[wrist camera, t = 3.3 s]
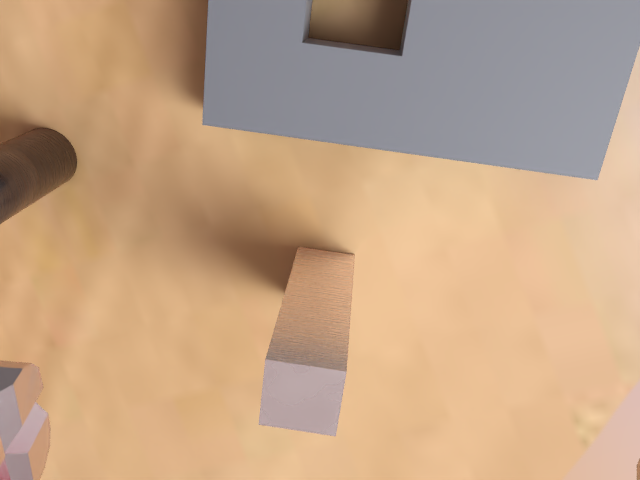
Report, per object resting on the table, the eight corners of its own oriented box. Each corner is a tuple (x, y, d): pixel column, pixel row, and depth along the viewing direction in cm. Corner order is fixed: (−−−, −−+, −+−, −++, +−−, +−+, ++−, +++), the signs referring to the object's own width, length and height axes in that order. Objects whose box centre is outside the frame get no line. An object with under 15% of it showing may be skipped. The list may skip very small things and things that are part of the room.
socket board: (216, 113, 34) (202, 124, 31) (233, -187, 28) (217, -206, 26) (578, 163, 33) (597, 180, 31) (666, -133, 28) (699, -146, 25)
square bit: (292, 296, 38) (258, 424, 27) (298, 246, 37) (265, 359, 25) (346, 304, 38) (335, 436, 27) (354, 254, 36) (346, 371, 25)
